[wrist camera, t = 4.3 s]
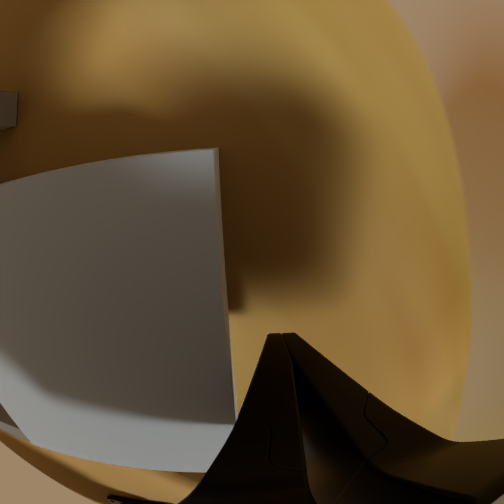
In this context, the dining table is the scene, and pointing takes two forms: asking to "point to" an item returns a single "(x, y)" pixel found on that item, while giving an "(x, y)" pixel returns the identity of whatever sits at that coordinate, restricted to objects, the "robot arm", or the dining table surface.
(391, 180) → the dining table surface
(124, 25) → the dining table surface
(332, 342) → the dining table surface
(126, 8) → the dining table surface
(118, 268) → the carton
